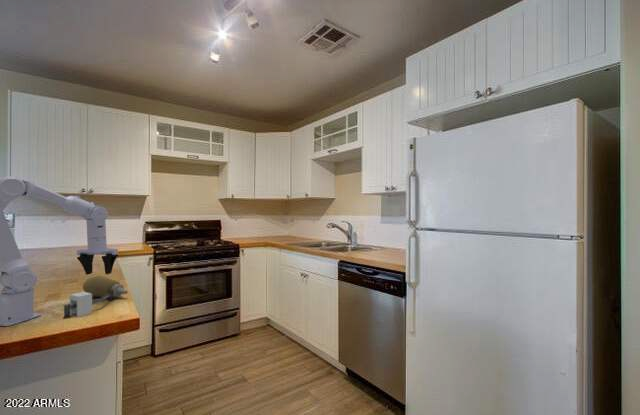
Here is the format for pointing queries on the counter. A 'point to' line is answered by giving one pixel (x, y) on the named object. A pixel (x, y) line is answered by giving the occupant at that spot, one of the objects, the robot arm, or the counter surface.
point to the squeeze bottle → (103, 286)
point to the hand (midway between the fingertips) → (98, 273)
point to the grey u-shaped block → (81, 303)
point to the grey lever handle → (109, 294)
